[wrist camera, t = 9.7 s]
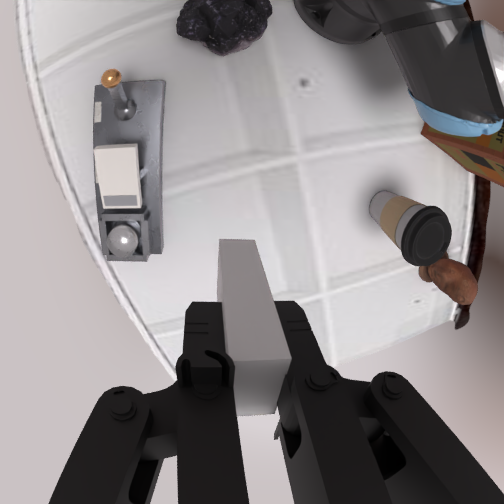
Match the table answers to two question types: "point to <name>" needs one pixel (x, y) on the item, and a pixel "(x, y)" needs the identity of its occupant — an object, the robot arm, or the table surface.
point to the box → (473, 151)
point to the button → (124, 238)
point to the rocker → (118, 175)
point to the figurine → (451, 279)
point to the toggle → (115, 87)
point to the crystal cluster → (224, 23)
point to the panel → (149, 156)
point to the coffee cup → (412, 227)
